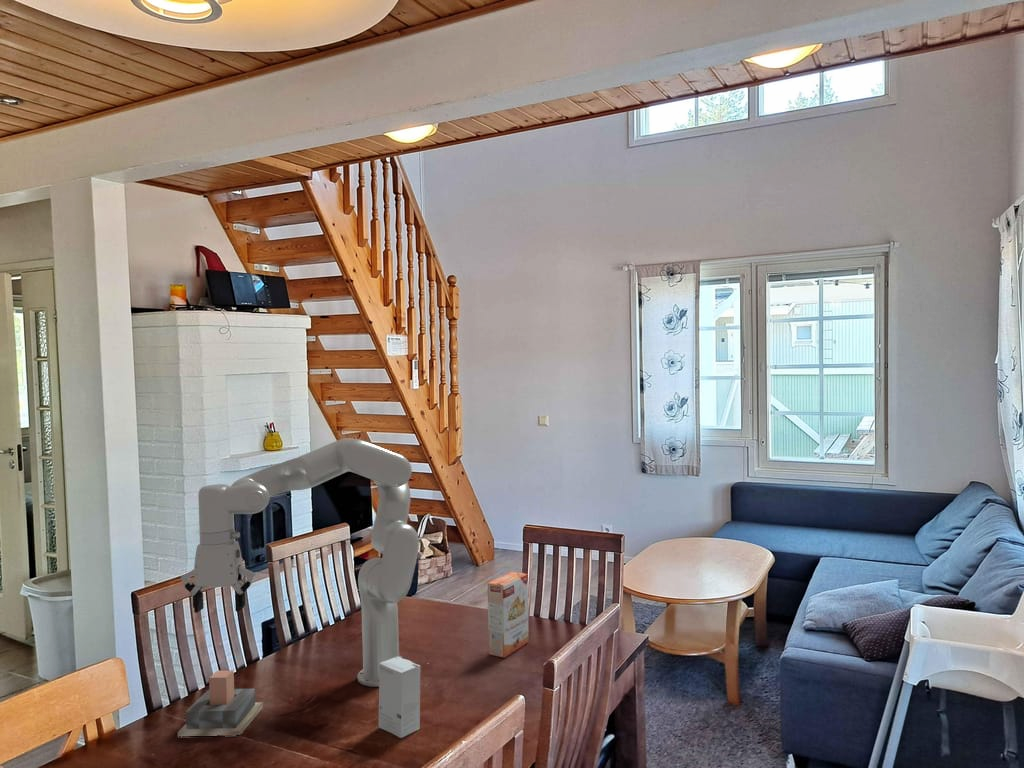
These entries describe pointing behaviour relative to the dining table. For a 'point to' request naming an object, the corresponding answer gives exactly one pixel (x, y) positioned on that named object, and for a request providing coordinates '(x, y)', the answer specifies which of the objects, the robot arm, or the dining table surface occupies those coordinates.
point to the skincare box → (399, 696)
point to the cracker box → (508, 614)
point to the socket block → (221, 715)
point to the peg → (221, 687)
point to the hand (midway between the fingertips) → (219, 610)
